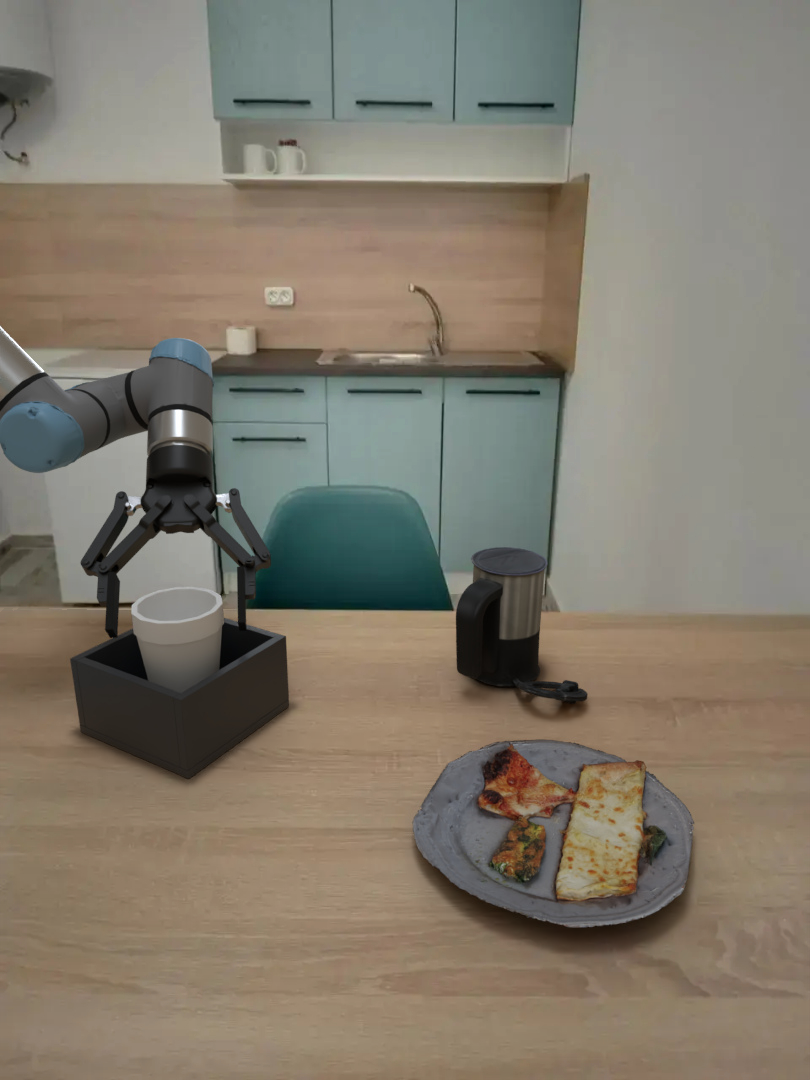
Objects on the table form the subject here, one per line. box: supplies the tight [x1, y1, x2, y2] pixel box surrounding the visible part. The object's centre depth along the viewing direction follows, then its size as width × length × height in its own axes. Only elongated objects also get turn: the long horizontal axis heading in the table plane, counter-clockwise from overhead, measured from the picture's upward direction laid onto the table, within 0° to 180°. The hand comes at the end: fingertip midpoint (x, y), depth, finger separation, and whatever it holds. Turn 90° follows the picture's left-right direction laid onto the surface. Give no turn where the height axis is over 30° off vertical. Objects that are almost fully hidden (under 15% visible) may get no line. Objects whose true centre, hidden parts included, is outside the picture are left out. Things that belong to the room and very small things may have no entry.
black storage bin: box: [69, 617, 290, 780], centre depth 91 cm, size 16×16×9 cm
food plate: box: [412, 738, 695, 929], centre depth 74 cm, size 25×23×4 cm
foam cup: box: [130, 586, 225, 693], centre depth 90 cm, size 10×9×13 cm
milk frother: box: [455, 546, 589, 705], centre depth 98 cm, size 14×16×15 cm
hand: (177, 630), depth 89 cm, fingers open, 13 cm apart
